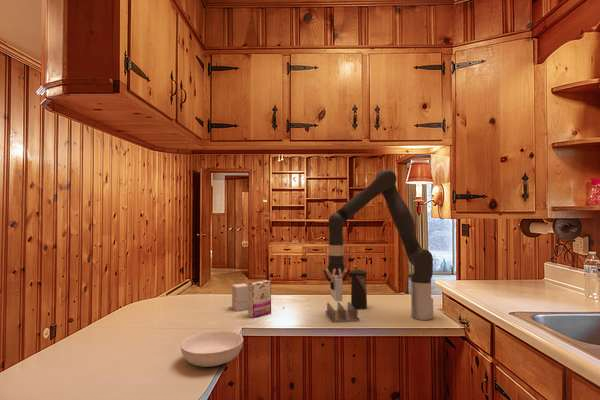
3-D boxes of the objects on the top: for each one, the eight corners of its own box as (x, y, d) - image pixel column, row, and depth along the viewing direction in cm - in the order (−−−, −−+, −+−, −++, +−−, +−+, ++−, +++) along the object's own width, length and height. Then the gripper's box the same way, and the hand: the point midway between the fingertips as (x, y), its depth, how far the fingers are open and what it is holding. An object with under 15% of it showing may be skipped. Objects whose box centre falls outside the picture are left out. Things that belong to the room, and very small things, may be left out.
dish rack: (350, 311, 176) (350, 301, 176) (359, 321, 160) (359, 310, 161) (325, 312, 175) (325, 302, 175) (332, 322, 159) (332, 311, 159)
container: (363, 310, 178) (363, 271, 179) (347, 308, 183) (347, 270, 183) (369, 306, 185) (369, 269, 186) (354, 304, 190) (353, 268, 191)
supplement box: (244, 306, 187) (244, 282, 187) (249, 309, 180) (249, 285, 181) (231, 308, 183) (231, 284, 183) (236, 311, 177) (236, 287, 177)
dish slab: (336, 295, 174) (336, 275, 174) (342, 301, 162) (342, 279, 162) (330, 295, 173) (330, 275, 174) (336, 301, 161) (336, 280, 162)
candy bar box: (265, 311, 177) (265, 279, 177) (271, 313, 173) (271, 281, 173) (247, 316, 169) (247, 282, 170) (253, 318, 165) (253, 284, 166)
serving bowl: (189, 349, 128) (189, 330, 129) (245, 347, 130) (245, 329, 130) (172, 376, 108) (172, 353, 108) (239, 373, 109) (239, 351, 109)
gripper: (348, 253, 173) (348, 287, 172) (320, 253, 171) (320, 288, 171) (352, 254, 165) (352, 291, 165) (323, 255, 164) (323, 291, 163)
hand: (336, 289), depth 168 cm, fingers closed on dish slab, 3 cm apart
